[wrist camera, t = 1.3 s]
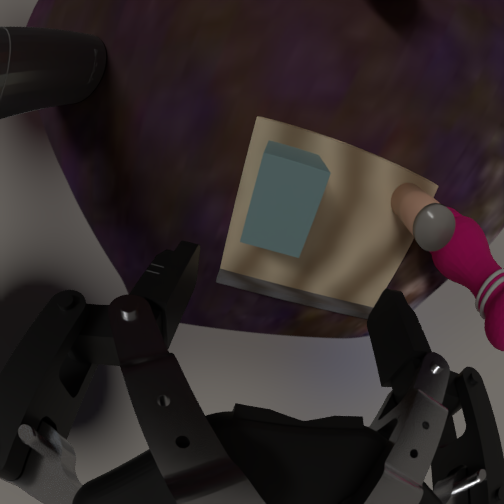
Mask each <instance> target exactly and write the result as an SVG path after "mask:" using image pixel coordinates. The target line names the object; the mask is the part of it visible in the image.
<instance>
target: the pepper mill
mask: <svg viewBox="0 0 504 504" xmlns="http://www.w3.org/2000/svg"><path fill="white" fill-rule="evenodd" d="M447 208H448V209H449V210H450V211H451V212H452V213H453V215H454V218H455V231H454V234H453V236H452V238H451V240H450V241H449V242H448V244H447V245H445V246H444V247H443V248H441V249H439V250H437V251H429V252H430V253H431V254H432V259H433V262H434V264H435V267H436V268H437V269H438V270H439V271H440V273H441V274H442V275H444V276H445V277H446V278H448V279H450V280H452V281H454V282H457V283H459V284H461V285H463V286H465V287H467V288H468V289H469V290H470V291H471V292H472V293H473V295H474V296H475V298H476V302H475V306H476V309H477V311H478V312H480V316H481V317H482V318H483V319H485V332H486V336H487V338H488V340H489V341H490V343H491V344H492V345H493V346H494V347H495V348H496V349H498V350H501V351H504V268H503V269H502V268H501V267H500V266H499V265H498V264H497V263H496V261H495V260H494V259H493V257H492V255H491V253H490V249H489V245H488V242H487V239H486V237H485V234H484V232H483V230H482V229H481V227H480V226H479V225H478V224H477V223H476V222H475V221H474V220H473V219H471V218H469V217H465V216H462V215H461V214H460V213H458V212H457V211H456V210H455V209H453V208H450V207H447Z"/></svg>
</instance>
